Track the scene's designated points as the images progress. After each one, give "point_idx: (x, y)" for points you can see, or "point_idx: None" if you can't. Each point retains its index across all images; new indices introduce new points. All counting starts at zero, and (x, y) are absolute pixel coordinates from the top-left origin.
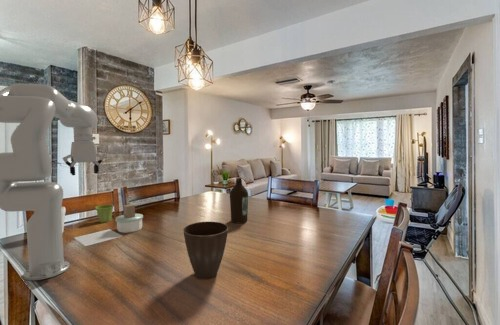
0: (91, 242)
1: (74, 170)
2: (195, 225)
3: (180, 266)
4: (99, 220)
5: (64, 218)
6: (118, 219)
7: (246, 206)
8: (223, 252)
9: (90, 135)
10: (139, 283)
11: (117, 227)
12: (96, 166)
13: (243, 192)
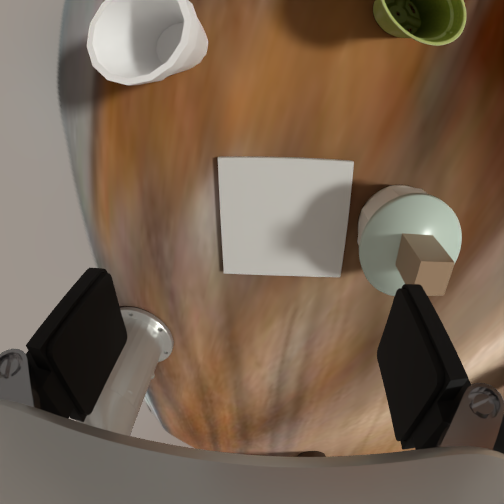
0: (247, 257)
1: (101, 382)
2: None
3: (306, 438)
4: (374, 10)
5: (197, 50)
6: (367, 252)
7: None
8: None
9: None
10: (242, 435)
11: (363, 216)
12: (400, 438)
13: None
